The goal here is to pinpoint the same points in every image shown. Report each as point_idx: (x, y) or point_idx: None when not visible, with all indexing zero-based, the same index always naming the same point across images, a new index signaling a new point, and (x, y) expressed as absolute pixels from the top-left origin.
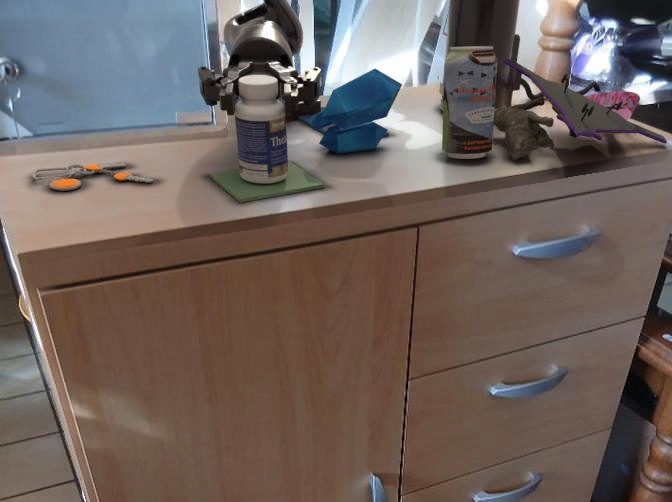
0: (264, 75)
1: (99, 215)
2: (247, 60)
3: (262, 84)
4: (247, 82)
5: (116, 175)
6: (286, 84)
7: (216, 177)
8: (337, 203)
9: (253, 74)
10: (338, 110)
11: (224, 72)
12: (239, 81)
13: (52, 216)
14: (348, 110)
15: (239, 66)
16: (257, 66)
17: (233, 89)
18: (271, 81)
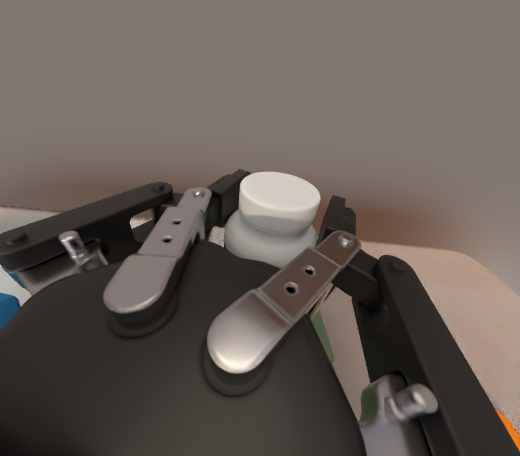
0: (256, 198)
1: (445, 290)
2: (234, 351)
3: (281, 173)
4: (306, 183)
5: (514, 433)
6: (220, 189)
7: (322, 332)
8: (217, 227)
9: (250, 273)
10: (10, 312)
11: (354, 416)
12: (319, 194)
13: (499, 308)
14: (2, 295)
15: (294, 303)
16: (145, 420)
17: (326, 223)
18: (260, 175)
